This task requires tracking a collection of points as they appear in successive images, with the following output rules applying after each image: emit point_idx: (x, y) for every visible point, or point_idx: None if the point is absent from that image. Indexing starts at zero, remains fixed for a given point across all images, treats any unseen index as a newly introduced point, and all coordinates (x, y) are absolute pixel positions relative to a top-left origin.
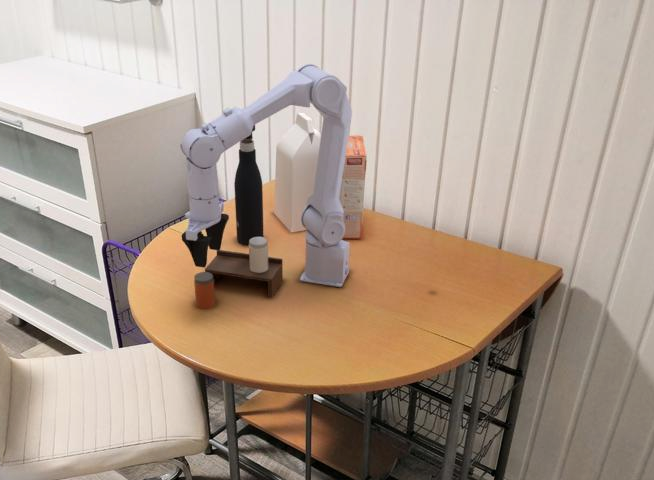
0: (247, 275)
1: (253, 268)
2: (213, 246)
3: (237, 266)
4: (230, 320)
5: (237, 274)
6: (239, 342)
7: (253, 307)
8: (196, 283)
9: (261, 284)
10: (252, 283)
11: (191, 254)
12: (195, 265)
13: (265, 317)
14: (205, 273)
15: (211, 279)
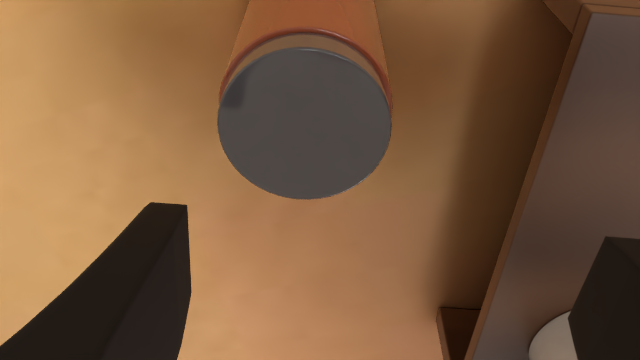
0: (491, 310)
1: (545, 352)
2: (602, 305)
3: (626, 235)
4: (176, 201)
5: (506, 256)
6: (13, 276)
7: (332, 267)
8: (233, 66)
9: None
10: None
11: (44, 312)
12: (142, 211)
13: (256, 324)
14: (360, 131)
15: (283, 192)
